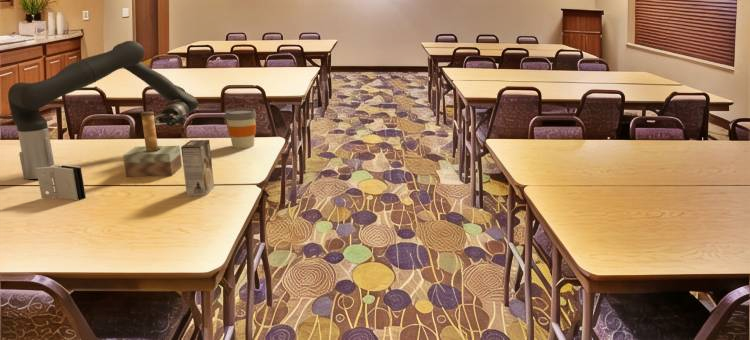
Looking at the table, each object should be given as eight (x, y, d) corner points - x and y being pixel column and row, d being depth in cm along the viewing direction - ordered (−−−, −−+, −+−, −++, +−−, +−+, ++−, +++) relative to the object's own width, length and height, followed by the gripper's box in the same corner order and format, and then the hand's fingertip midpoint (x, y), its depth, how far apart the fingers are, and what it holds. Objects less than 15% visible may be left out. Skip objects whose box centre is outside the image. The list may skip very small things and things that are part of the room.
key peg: (144, 159, 207) (138, 113, 202) (149, 156, 211) (143, 111, 206) (157, 159, 207) (151, 113, 202) (161, 156, 211) (155, 111, 206)
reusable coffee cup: (262, 142, 252) (259, 108, 247) (253, 149, 240) (250, 113, 235) (233, 142, 253) (231, 108, 249) (223, 149, 241) (220, 113, 237)
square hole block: (126, 176, 204) (123, 154, 202) (138, 167, 216) (135, 146, 213) (171, 175, 205) (169, 153, 202) (181, 166, 216) (179, 145, 214)
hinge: (40, 199, 182) (35, 168, 179) (52, 194, 187) (47, 163, 184) (80, 200, 180) (75, 169, 177) (91, 195, 185) (86, 164, 182)
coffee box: (195, 187, 191) (190, 139, 187) (214, 187, 191) (210, 139, 187) (186, 196, 182) (180, 146, 178) (206, 195, 182) (201, 146, 178)
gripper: (154, 105, 231) (139, 114, 215) (190, 104, 231) (178, 113, 215) (157, 124, 233) (142, 134, 218) (192, 123, 233) (180, 133, 218)
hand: (160, 124), depth 217 cm, fingers open, 8 cm apart
